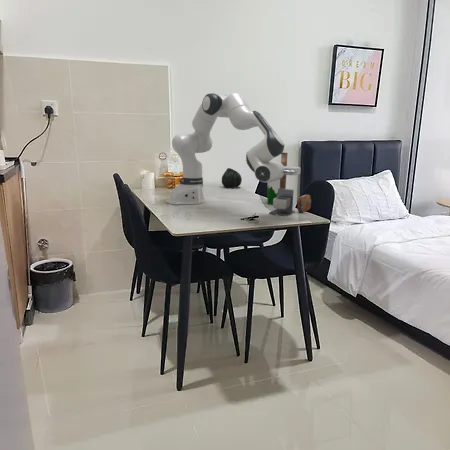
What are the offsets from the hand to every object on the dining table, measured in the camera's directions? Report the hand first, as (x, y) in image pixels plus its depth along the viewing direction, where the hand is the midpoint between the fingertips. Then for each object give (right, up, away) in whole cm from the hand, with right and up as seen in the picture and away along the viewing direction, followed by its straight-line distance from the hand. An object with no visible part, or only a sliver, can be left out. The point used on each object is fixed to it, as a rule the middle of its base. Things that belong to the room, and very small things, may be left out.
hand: (284, 168), depth 205 cm
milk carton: (-1, -16, +33) cm, 37 cm away
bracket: (0, -22, +6) cm, 23 cm away
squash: (-25, -1, +93) cm, 96 cm away
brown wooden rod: (-1, -10, +2) cm, 10 cm away
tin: (+12, -21, +14) cm, 28 cm away
